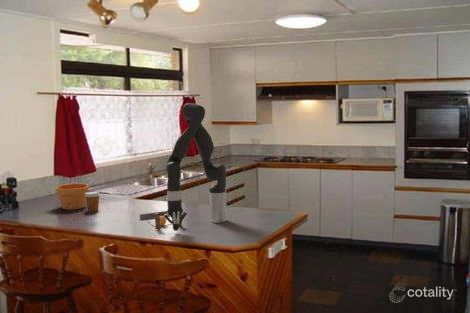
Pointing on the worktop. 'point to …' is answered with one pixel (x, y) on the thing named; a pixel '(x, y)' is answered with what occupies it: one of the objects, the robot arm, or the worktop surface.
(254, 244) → the worktop surface
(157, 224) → the post
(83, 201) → the flower pot
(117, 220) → the worktop surface
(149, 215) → the stopper wall
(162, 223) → the ball
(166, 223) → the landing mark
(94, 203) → the disposable coffee cup
